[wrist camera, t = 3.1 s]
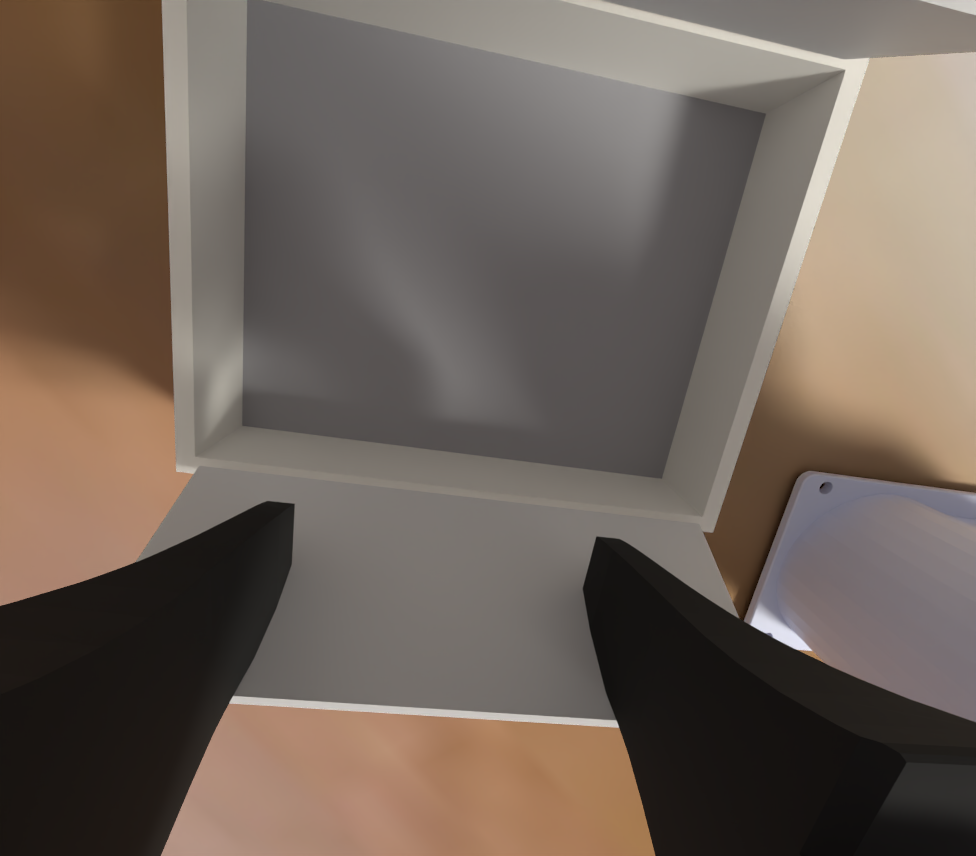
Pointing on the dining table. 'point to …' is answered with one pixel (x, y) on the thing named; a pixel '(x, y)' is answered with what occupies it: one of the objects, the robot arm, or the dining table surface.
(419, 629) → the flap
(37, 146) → the dining table surface
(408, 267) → the carton
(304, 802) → the dining table surface
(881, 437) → the dining table surface
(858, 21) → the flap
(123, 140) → the dining table surface
